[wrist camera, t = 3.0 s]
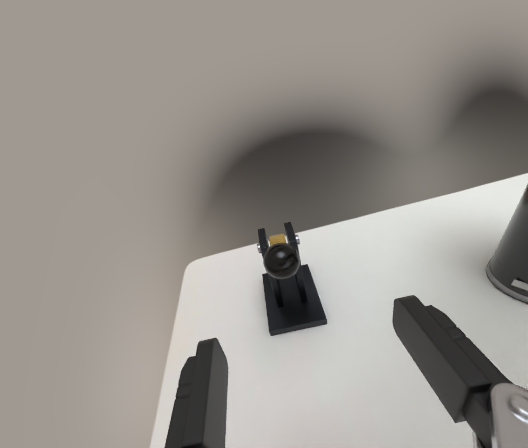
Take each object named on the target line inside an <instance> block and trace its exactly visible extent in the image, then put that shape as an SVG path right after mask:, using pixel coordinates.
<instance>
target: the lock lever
mask: <svg viewBox="0 0 528 448" xmlns="http://www.w3.org/2000/svg"><path fill="white" fill-rule="evenodd" d="M269 241H270V245H271V246H270V247H269V248H268V249H267V251H266V252H265V255H264V259H263V263H264V267H265V269H266V271H267V272H268V274H269V275H271V276H272V277H274V278H276V279H288V278H290V277H292V276H293V275H294V274H295V273H296V272H297V270H298V268H299V265H300V257H299V254H298V252H297V250H296V249H295V248H294V247H293V246H291V245H290V244H287V243H286V240H285V236H284V234H283V233H282V234H278V235H274V236H270V237H269Z"/></svg>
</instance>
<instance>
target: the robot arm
mask: <svg viewBox="0 0 528 448" xmlns="http://www.w3.org/2000/svg"><path fill="white" fill-rule="evenodd" d="M486 271H487V275H488V277H489V279H490V280H491V282H492V283H493V284H494V285H495V286H496V287H498V288H499V289H500V290H502V291H503V292H505V293H506V294H508V295H510V296H512V297H514V298H516V299H518V300H521V301H523V302H526V303H528V185H527V187H526V189H525V191H524V193H523V195H522V197H521V199H520V201H519V204H518V206H517V208H516V210H515V212H514V214H513V216H512V218H511V220H510V222H509V224H508V226H507V228H506V230H505V232H504V235H503V237H502V239H501V241H500V243H499V245H498V247H497V249H496V251H495V253H494V255H493V257H492V259H491V260H490V261H489V263H488V265H487V268H486ZM393 326H394V329H395V332H396V334H397V336H398V337H399V339H400V340H401V342H402V343H403V345H404V346H405V348H406V349H407V351H408V352H409V354H410V355H411V357H412V358H413V360H414V361H415V363H416V364H417V366H418V367H419V369H420V370H421V372H422V373H423V375H424V376H425V378H426V379H427V381H428V383H429V384H430V386H431V387H432V389H433V390H434V392H435V393H436V395H437V396H438V398H439V399H440V401H441V402H442V404H443V405H444V407H445V408H446V410H447V411H448V413H449V414H450V416H451V417H452V419H453V420H454V422H455V423H457V422H462V421H467V422H468V424H469V425H470V427H471V428H472V430H473V447H474V448H528V390H527V389H525V388H523V387H520V386H518V385H515V384H513V383H512V382H511V381H509V380H508V379H507V378H506V377H505V376H504V375H503V374H502V373H501V372H500V371H499V370H498V369H497V368H496V367H495V366H494V365H493V363H492V362H491V361H490V360H489V359H488V358H487V357H486V356H485V355H484V354H483V353H482V352H481V351H480V350H479V349H478V348H477V347H476V346H475V345H474V344H473V342H472V341H471V340H470V339H469V338H467V337H466V336H465V334H464V333H463V332H462V331H461V330H460V329H459V328H457V327H456V325H455V324H454V323H453V321H452V320H451V319H450V318H449V317H448V316H447V315H446V314H445V313H443V312H441V311H440V310H438V309H437V308H435V307H433V306H432V305H429V306H424V305H423V304H422V303H421V301H420V300H419V299H418V298H417V297H416V296H414V295H411V296H406V297H402V298H397V299H395V300H394V309H393ZM178 385H179V387H178V388H177V393H176V400H175V402H174V407H173V411H172V416H171V421H170V425H169V430H168V435H167V439H166V444H165V448H225V434H226V410H227V387H228V363H227V359H226V356H225V354H224V352H223V350H222V348H221V345H220V343H219V341H218V339H217V338H212V339H208V340H203V341H200V342H199V343H198V346H197V352H196V356H193V357H189V358H188V359H187V361H186V363H185V365H184V367H183V368H182V370H181V374H180V379H179V384H178Z"/></svg>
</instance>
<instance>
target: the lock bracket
mask: <svg viewBox="0 0 528 448" xmlns="http://www.w3.org/2000/svg"><path fill="white" fill-rule="evenodd" d="M284 226H285V231H286V235H287V240H288V244H290V245H291V246H293V247H294V248H295V249H296V250H297V252H298V254H299V250H298V245H297V244H300V242H299V237H298V235H295V234H294V231H293V228H292V225H291V222H288V223H284ZM258 235H259V244H257V247H258V251H259V253H262V256H263V259H264V255H265V252H266V251H267V249H268V248H269V244H268V240H267V236H266V233H265V229H264V228H262V229H258ZM299 257H300V256H299ZM262 276H263V284H264V292H265V300H266V309H267V317H268V325H269V332H270V335H271V336H272V335H277V334H282V333H286V332H291V331H296V330H300V329H305V328H310V327H314V326H319V325H324V324H327V319H326V316H325V313H324V310H323V308H322V305H321V302H320V299H319V296H318V293H317V290H316V287H315V284H314V282H313V279H312V276H311V273H310V270H309V267H308V264H306V265H301V261H300V265H299V268H298V270H297V272H296V273H295V274H294V275H293V276H292V277H290V278H288V279H276V278H274V277H272V276H271V275H269V274H268V272H267V273H266V274H262Z"/></svg>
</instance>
